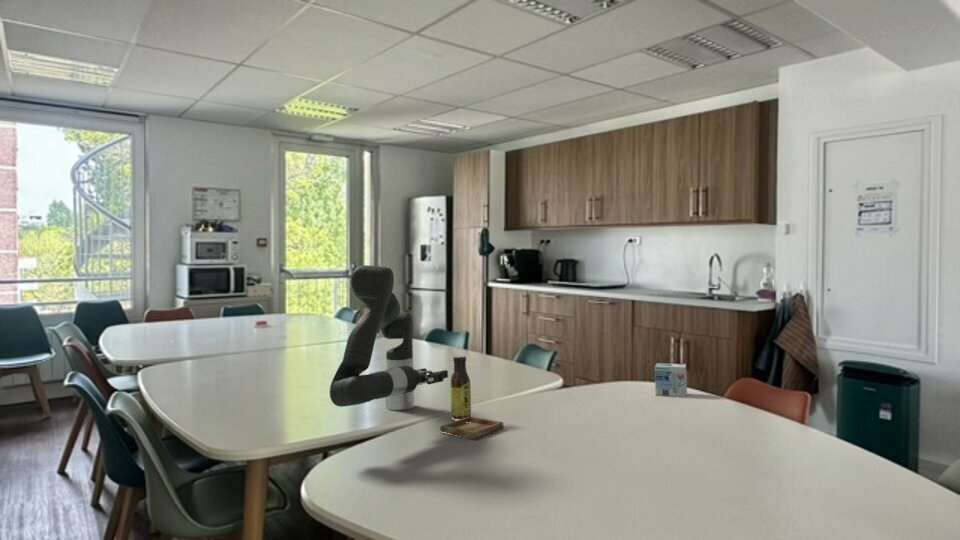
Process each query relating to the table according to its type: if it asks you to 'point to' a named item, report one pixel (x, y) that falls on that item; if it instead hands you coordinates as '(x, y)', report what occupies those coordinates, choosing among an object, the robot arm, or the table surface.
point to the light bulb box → (670, 380)
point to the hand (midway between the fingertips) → (436, 372)
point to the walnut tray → (472, 427)
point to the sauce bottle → (460, 389)
